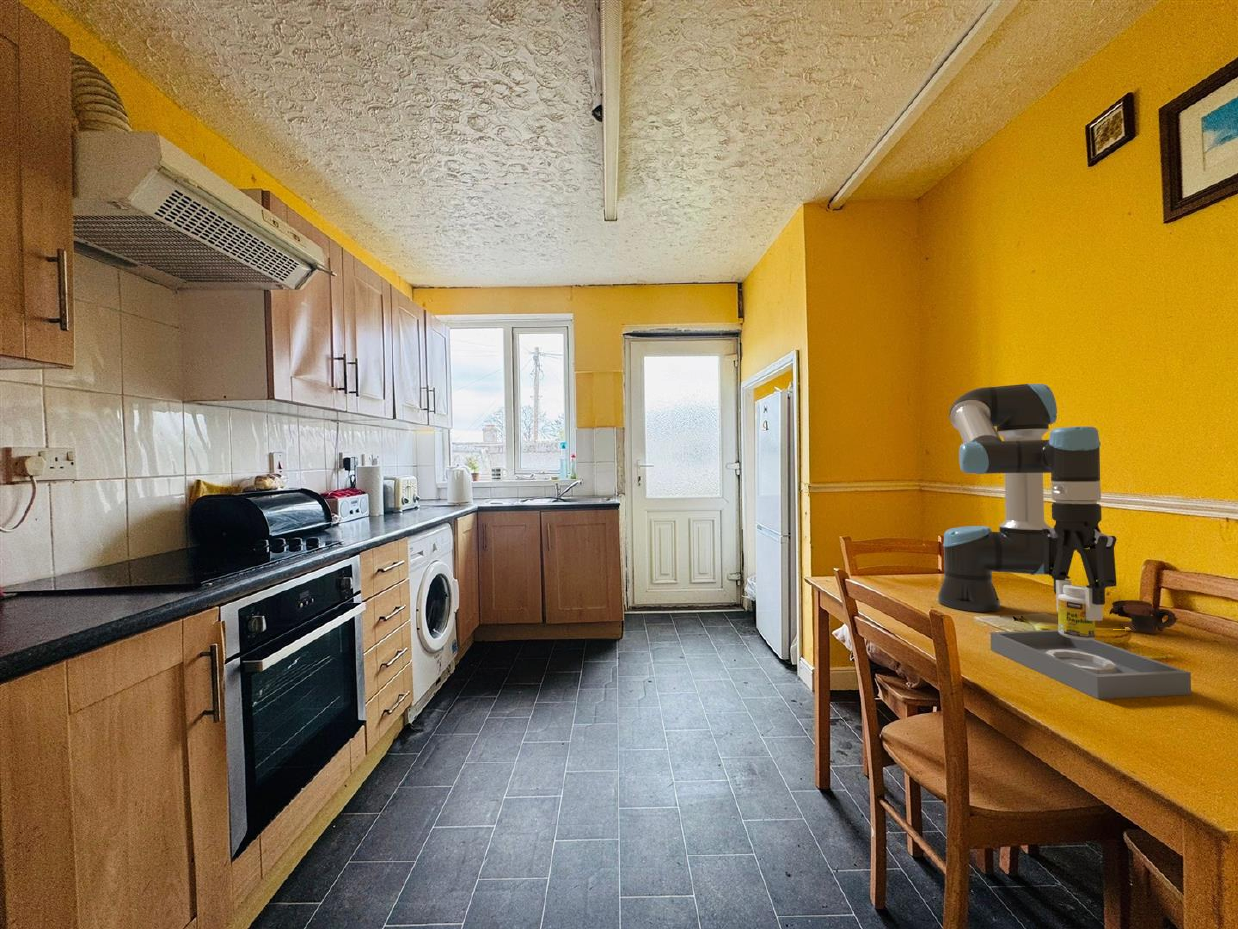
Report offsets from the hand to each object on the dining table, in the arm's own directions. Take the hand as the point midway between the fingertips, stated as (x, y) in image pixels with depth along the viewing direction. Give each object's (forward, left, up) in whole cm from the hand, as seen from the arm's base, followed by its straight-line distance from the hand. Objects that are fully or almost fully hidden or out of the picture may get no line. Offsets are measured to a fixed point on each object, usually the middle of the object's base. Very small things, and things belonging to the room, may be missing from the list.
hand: (1078, 615), depth 102 cm
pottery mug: (-21, +38, -12) cm, 45 cm away
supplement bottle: (0, -1, -5) cm, 5 cm away
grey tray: (0, 0, -11) cm, 11 cm away
